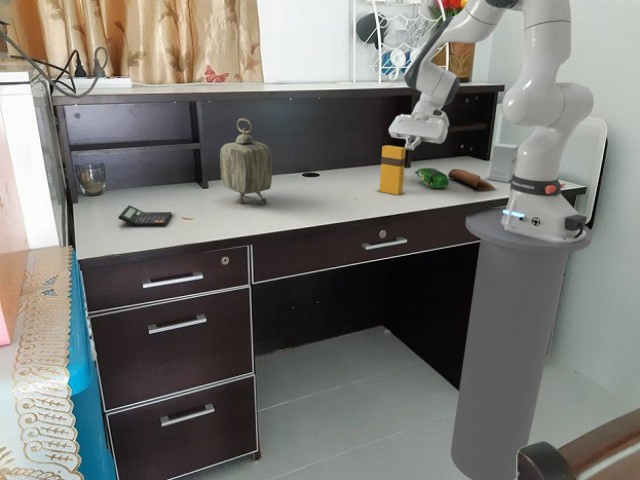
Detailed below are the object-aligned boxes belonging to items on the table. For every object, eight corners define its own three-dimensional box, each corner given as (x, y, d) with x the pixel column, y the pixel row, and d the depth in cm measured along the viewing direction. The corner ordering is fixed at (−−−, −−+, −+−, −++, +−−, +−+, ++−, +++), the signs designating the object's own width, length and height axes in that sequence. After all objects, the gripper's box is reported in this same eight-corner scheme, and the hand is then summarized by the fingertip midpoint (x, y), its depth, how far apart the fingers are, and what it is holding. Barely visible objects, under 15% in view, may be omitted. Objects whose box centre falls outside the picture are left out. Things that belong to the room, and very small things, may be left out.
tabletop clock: (272, 203, 153) (271, 119, 144) (248, 209, 147) (245, 122, 138) (243, 194, 162) (240, 114, 153) (219, 199, 156) (215, 117, 147)
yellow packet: (383, 189, 171) (386, 145, 166) (402, 193, 167) (406, 147, 162) (379, 191, 169) (382, 146, 163) (398, 195, 165) (401, 149, 159)
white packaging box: (508, 182, 183) (514, 147, 178) (488, 179, 187) (493, 145, 182) (513, 178, 189) (519, 144, 184) (493, 175, 192) (498, 142, 188)
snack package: (431, 179, 186) (432, 165, 184) (450, 189, 172) (451, 174, 170) (413, 179, 185) (414, 165, 183) (430, 190, 170) (431, 175, 168)
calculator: (164, 226, 132) (163, 215, 131) (119, 226, 131) (117, 215, 130) (171, 215, 141) (170, 204, 140) (128, 215, 140) (127, 204, 139)
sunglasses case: (497, 188, 173) (491, 172, 170) (481, 199, 172) (474, 183, 169) (466, 176, 189) (460, 161, 186) (451, 186, 188) (445, 172, 185)
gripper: (395, 108, 178) (379, 139, 175) (449, 113, 167) (434, 146, 163) (400, 119, 183) (385, 150, 180) (453, 125, 172) (438, 158, 168)
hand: (409, 148), depth 171 cm, fingers closed
